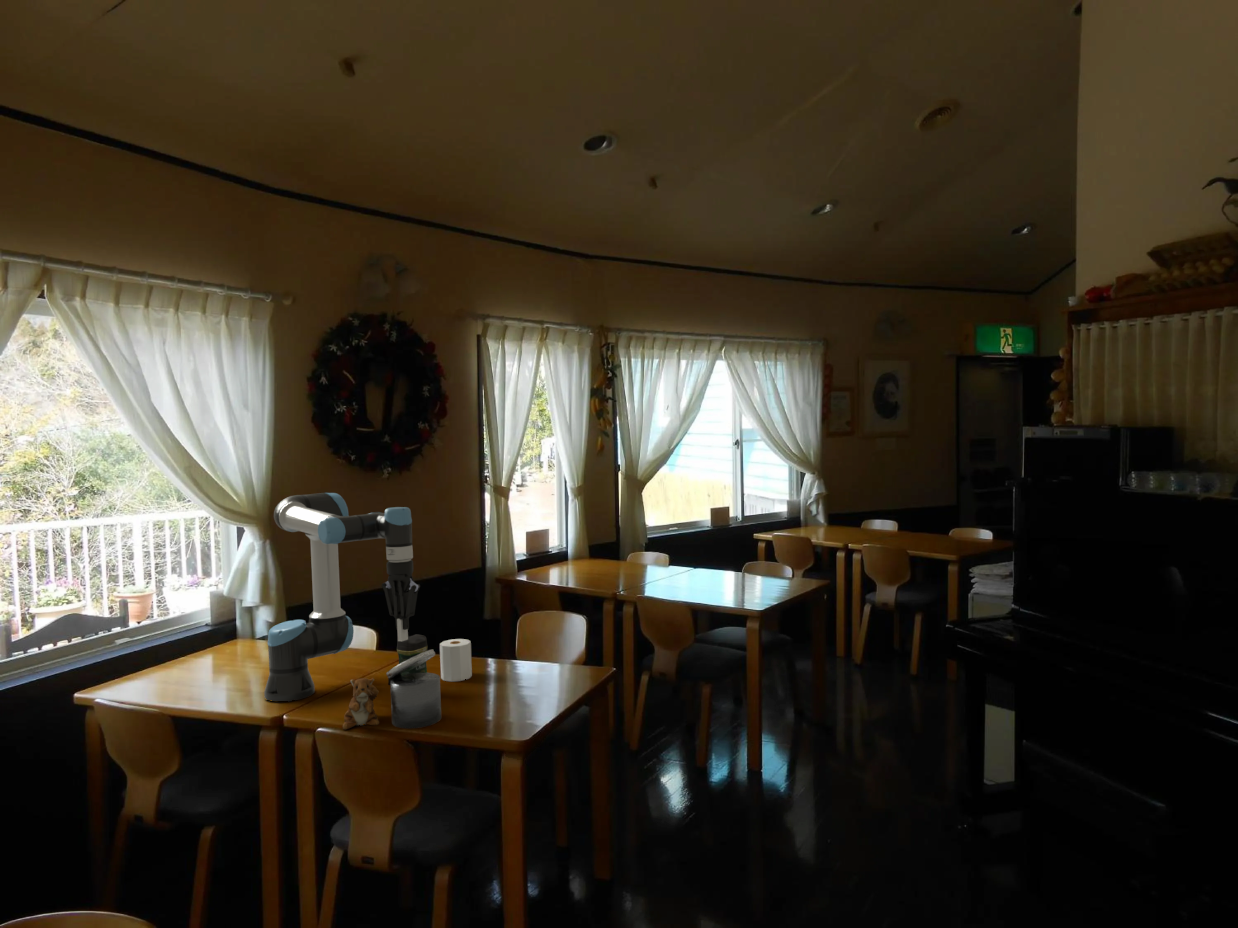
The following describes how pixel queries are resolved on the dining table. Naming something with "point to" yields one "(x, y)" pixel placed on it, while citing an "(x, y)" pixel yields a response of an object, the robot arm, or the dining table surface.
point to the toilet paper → (455, 660)
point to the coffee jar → (412, 651)
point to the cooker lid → (410, 663)
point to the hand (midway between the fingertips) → (402, 639)
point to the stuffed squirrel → (361, 704)
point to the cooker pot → (415, 700)
